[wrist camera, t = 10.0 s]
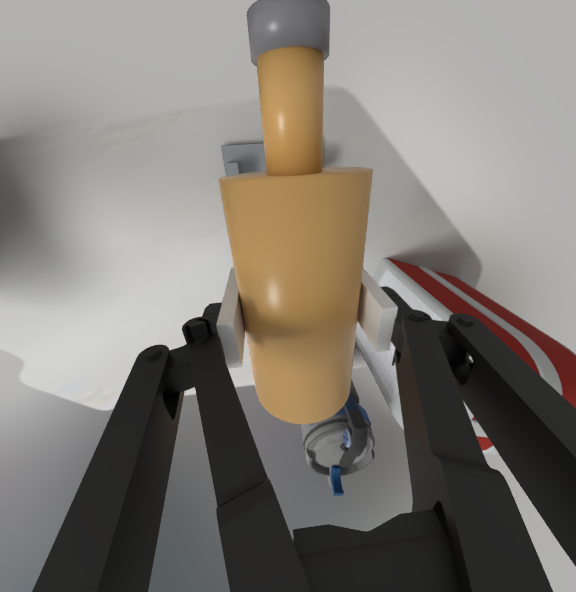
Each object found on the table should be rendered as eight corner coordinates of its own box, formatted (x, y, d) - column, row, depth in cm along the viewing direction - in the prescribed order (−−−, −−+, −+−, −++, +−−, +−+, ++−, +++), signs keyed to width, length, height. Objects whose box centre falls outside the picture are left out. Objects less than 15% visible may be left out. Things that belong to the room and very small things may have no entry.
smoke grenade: (345, 321, 51) (407, 445, 29) (328, 367, 57) (369, 498, 36) (297, 316, 49) (325, 444, 27) (285, 364, 55) (300, 500, 34)
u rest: (316, 260, 44) (320, 269, 40) (242, 267, 43) (240, 276, 40) (316, 140, 34) (321, 138, 31) (222, 146, 34) (218, 145, 31)
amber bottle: (333, 343, 22) (366, 414, 16) (254, 354, 21) (257, 432, 15) (347, 47, 12) (442, -54, 6) (204, 51, 12) (158, -59, 6)
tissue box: (416, 342, 56) (528, 477, 33) (346, 328, 52) (416, 471, 29) (461, 277, 48) (648, 394, 25) (383, 255, 44) (518, 369, 21)
